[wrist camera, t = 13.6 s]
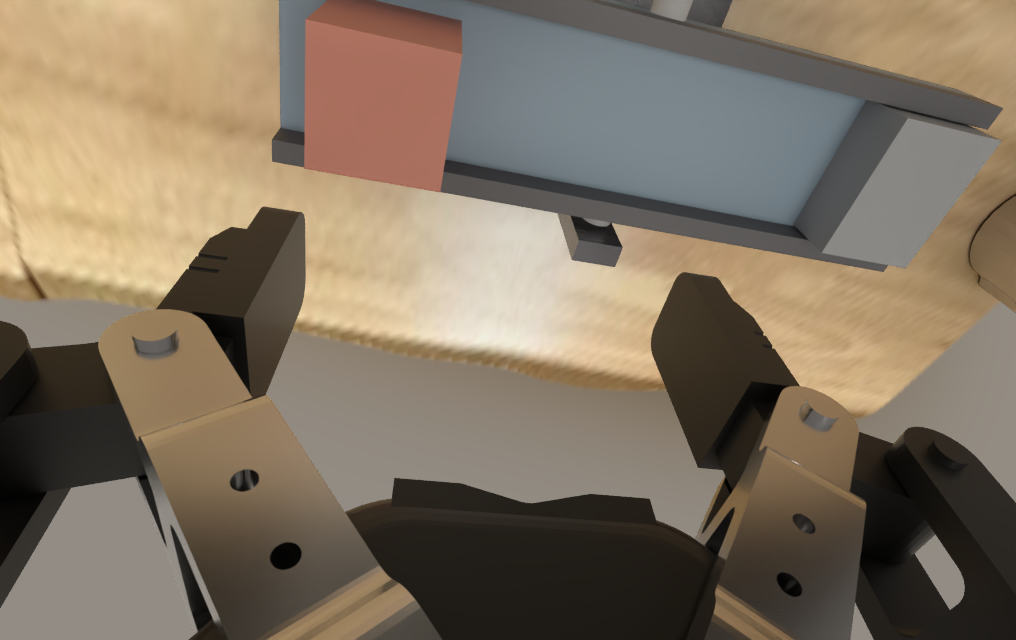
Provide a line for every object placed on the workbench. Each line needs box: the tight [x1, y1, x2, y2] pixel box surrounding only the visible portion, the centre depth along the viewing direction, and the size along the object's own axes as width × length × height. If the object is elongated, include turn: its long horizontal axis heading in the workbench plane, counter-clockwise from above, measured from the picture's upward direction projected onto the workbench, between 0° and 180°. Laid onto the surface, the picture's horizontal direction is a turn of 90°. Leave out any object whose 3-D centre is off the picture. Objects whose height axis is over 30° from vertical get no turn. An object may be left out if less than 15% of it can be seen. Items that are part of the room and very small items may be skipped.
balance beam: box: [272, 0, 1003, 272], centre depth 26 cm, size 32×11×5 cm, turn 77°
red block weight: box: [304, 0, 462, 192], centre depth 22 cm, size 5×5×6 cm
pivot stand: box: [558, 0, 732, 267], centre depth 31 cm, size 14×18×13 cm
